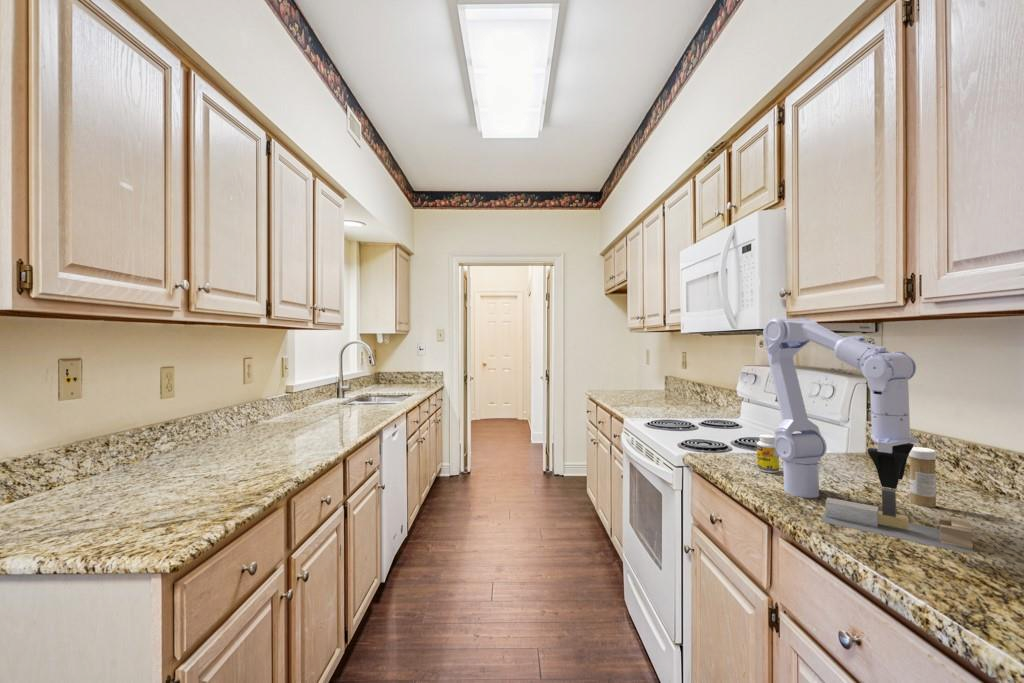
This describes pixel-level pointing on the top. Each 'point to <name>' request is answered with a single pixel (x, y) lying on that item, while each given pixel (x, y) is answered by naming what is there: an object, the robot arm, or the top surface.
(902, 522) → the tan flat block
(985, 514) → the top surface
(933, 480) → the sprinkles bottle
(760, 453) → the supplement bottle
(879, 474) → the robot arm
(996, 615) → the top surface
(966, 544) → the socket block
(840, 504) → the outer sleeve
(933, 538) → the base board
